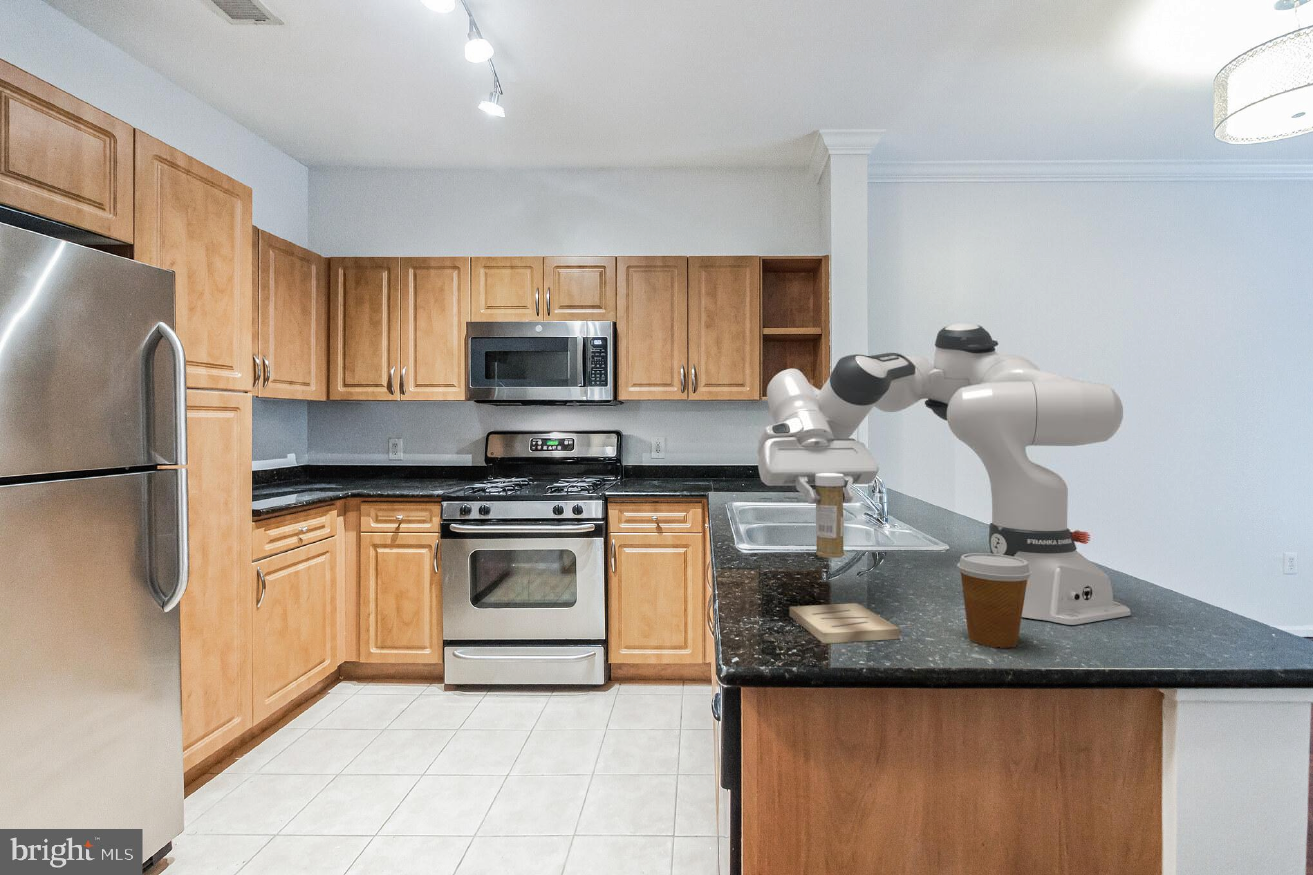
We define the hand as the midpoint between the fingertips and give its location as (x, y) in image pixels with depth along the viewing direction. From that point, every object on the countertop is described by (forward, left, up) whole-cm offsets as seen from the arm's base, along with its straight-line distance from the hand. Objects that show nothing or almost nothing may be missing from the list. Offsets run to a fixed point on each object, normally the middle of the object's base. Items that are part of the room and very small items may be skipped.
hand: (831, 501), depth 100 cm
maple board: (0, +4, -19) cm, 20 cm away
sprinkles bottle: (0, -1, -9) cm, 9 cm away
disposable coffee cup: (-19, +13, -19) cm, 30 cm away
